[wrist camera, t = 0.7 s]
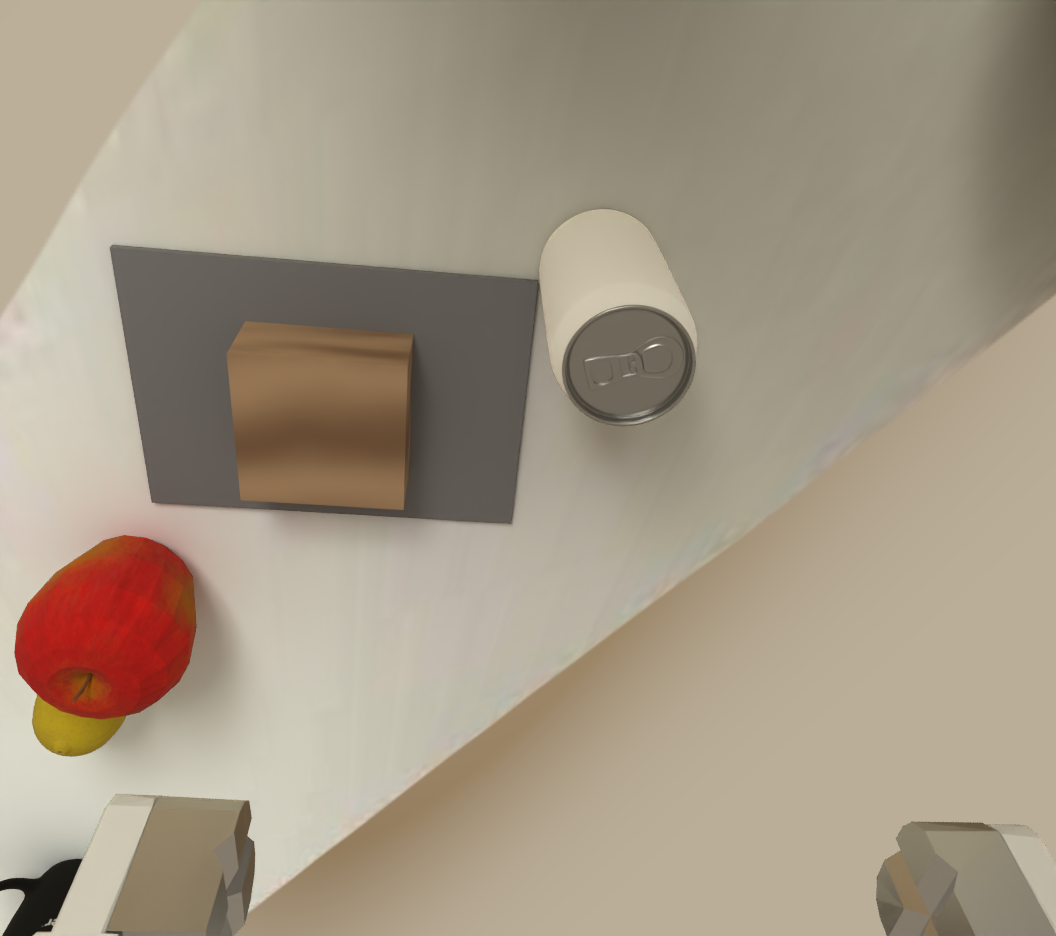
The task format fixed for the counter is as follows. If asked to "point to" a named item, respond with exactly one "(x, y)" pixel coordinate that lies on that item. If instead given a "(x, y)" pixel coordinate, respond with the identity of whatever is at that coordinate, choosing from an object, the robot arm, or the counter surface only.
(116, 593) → the apple
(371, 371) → the plinth
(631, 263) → the can
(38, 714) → the lemon
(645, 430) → the counter surface
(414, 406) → the mat
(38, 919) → the mug
